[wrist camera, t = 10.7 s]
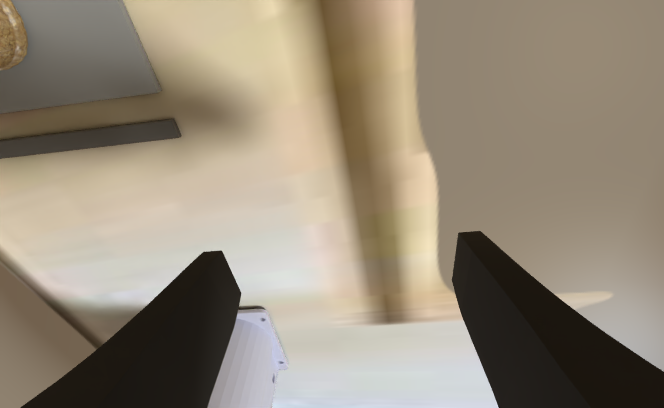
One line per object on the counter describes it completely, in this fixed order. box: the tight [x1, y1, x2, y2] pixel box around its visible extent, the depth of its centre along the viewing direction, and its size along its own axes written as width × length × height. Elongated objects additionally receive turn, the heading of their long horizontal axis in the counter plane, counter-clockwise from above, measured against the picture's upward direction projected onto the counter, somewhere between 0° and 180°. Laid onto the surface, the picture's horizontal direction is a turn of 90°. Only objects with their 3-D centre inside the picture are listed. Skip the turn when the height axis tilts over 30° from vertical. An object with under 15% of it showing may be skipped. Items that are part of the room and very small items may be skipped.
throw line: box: [0, 119, 181, 159], centre depth 18 cm, size 1×14×1 cm, turn 97°
